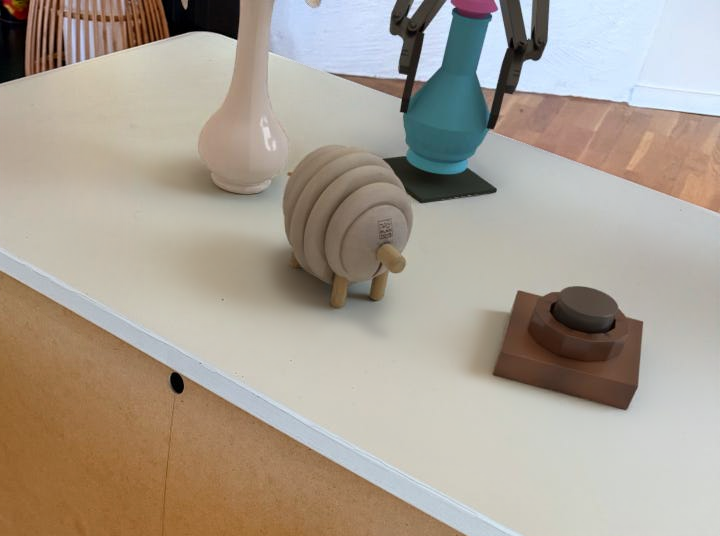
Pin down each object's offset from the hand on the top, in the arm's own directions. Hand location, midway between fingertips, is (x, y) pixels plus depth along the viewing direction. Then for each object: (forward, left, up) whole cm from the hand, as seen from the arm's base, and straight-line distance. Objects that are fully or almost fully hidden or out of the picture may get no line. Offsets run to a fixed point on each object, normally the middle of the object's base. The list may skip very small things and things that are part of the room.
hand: (448, 113), depth 93 cm
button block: (-31, +8, -7) cm, 33 cm away
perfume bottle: (+2, -2, -6) cm, 7 cm away
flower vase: (+7, +20, -8) cm, 22 cm away
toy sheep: (-14, +21, -8) cm, 26 cm away
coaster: (+3, -2, -7) cm, 8 cm away
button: (-31, +8, -4) cm, 33 cm away
